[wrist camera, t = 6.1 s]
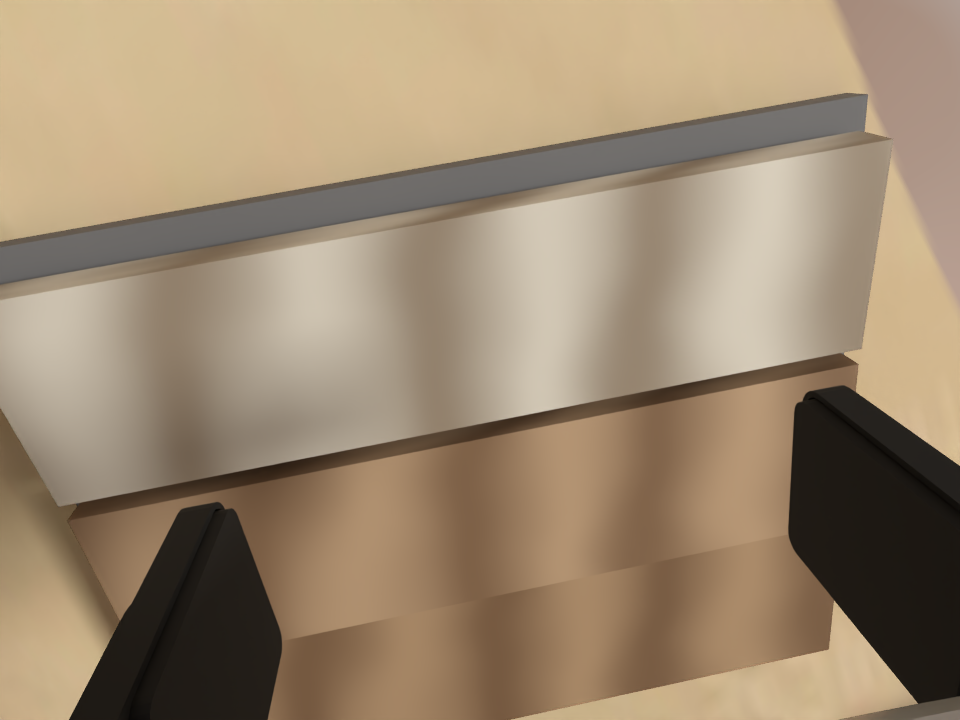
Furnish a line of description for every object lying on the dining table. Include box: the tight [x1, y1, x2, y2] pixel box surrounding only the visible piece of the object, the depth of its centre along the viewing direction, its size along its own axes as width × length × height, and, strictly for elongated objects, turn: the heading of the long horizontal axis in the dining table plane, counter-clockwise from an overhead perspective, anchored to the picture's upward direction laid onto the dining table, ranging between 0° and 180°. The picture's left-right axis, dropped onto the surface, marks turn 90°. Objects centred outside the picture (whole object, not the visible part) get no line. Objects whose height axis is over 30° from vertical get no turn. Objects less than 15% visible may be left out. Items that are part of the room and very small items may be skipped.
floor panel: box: [0, 93, 868, 720], centre depth 24 cm, size 27×22×2 cm
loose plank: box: [0, 131, 893, 507], centre depth 20 cm, size 26×7×2 cm, turn 99°
